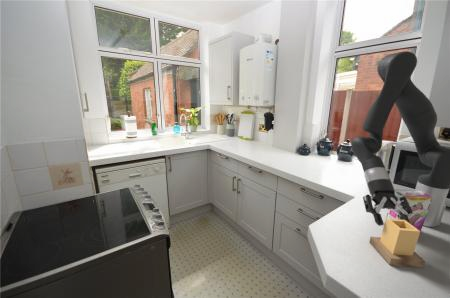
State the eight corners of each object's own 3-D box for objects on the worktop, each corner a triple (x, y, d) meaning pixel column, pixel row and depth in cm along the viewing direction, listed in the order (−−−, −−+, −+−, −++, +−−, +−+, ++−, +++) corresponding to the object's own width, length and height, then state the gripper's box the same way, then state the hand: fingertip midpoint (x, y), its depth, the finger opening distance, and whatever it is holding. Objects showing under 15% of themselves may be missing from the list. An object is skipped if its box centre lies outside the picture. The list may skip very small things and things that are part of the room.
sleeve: (398, 242, 68) (404, 219, 66) (412, 255, 62) (420, 231, 60) (380, 241, 69) (386, 218, 66) (392, 254, 63) (399, 230, 61)
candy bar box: (393, 234, 76) (404, 196, 72) (383, 226, 81) (392, 190, 77) (421, 234, 77) (433, 196, 73) (409, 226, 81) (420, 190, 77)
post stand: (398, 244, 71) (404, 221, 68) (423, 267, 61) (431, 241, 59) (369, 242, 71) (374, 219, 69) (389, 264, 62) (396, 239, 59)
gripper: (364, 176, 72) (379, 222, 64) (405, 179, 72) (425, 225, 63) (354, 184, 79) (365, 226, 71) (390, 186, 78) (407, 229, 70)
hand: (393, 226), depth 67 cm, fingers open, 8 cm apart
